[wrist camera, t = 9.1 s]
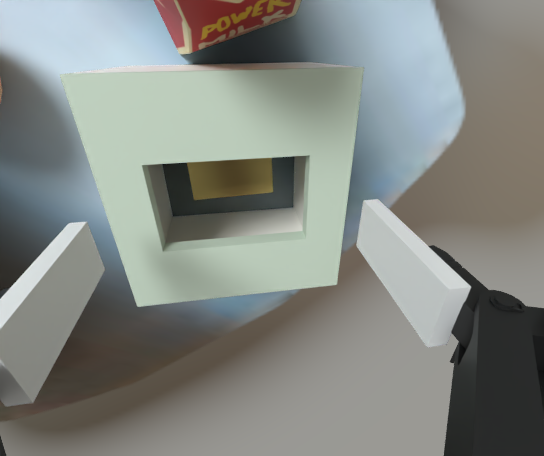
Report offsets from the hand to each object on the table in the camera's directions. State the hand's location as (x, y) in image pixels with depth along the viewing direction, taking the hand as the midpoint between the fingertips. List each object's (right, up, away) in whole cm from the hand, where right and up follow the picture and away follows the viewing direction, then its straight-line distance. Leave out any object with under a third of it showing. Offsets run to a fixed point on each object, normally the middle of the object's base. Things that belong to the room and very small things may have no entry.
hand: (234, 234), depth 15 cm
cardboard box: (-2, +7, +12) cm, 14 cm away
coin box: (-2, +7, +12) cm, 14 cm away
